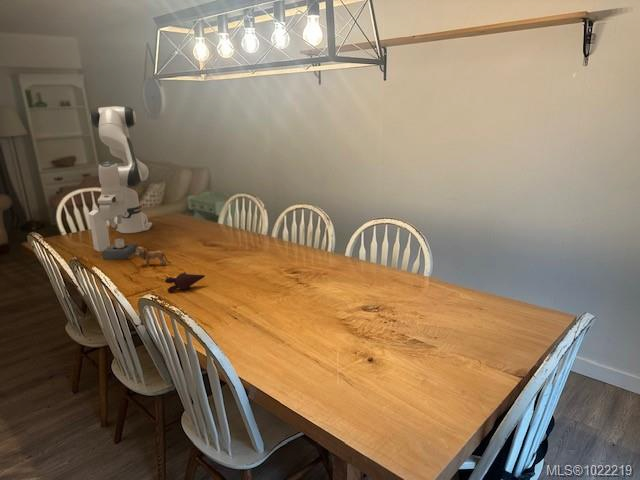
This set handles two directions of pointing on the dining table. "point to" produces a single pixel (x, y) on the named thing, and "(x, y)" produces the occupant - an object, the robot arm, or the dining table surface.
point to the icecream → (183, 281)
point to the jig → (120, 252)
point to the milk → (99, 230)
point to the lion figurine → (150, 255)
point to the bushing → (119, 243)
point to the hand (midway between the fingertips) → (116, 225)
